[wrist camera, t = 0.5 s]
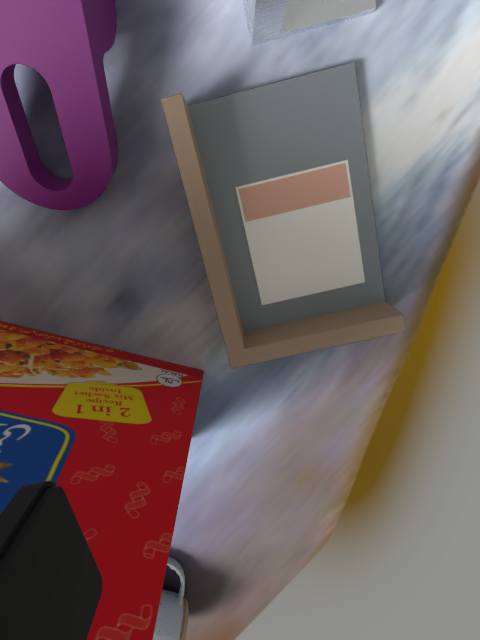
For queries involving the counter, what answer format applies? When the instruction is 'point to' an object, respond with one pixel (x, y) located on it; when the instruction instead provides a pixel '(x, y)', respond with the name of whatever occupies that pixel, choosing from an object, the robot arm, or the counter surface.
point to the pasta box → (101, 457)
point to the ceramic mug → (172, 610)
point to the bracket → (298, 15)
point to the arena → (284, 214)
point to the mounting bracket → (58, 97)
